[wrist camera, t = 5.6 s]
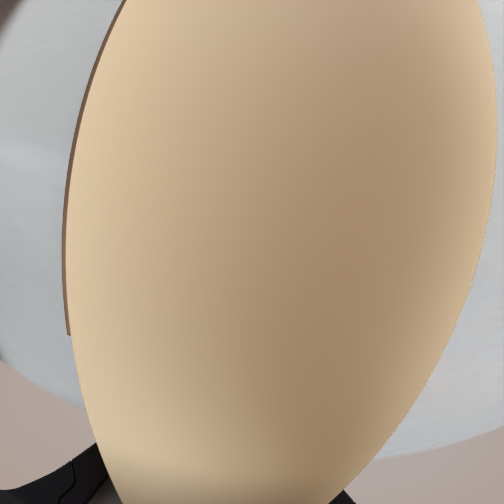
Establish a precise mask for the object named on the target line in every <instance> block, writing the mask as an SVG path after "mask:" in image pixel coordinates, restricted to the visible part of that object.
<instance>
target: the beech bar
mask: <svg viewBox="0 0 504 504" xmlns="http://www.w3.org/2000/svg"><path fill="white" fill-rule="evenodd" d="M496 156H497V102H496V89H495V79H494V71H493V64H492V58H491V52H490V47H489V42H488V38H487V33H486V29H485V25H484V21H483V18H482V14H481V11H480V8H479V4H478V1H477V0H127V1H126V2H125V4H124V6H123V8H122V10H121V12H120V14H119V16H118V18H117V20H116V23H115V25H114V27H113V29H112V31H111V34H110V36H109V38H108V41H107V43H106V45H105V48H104V50H103V53H102V56H101V58H100V61H99V64H98V66H97V69H96V72H95V75H94V78H93V81H92V84H91V88H90V91H89V94H88V98H87V101H86V105H85V109H84V112H83V116H82V120H81V125H80V129H79V134H78V138H77V143H76V149H75V154H74V160H73V166H72V173H71V180H70V189H69V198H68V209H67V225H66V288H67V303H68V314H69V324H70V332H71V339H72V346H73V352H74V358H75V363H76V369H77V374H78V378H79V383H80V387H81V392H82V396H83V400H84V403H85V407H86V411H87V414H88V418H89V421H90V424H91V427H92V431H93V434H94V437H95V440H96V442H97V445H98V448H99V451H100V453H101V456H102V459H103V461H104V464H105V466H106V469H107V471H108V473H109V476H110V478H111V480H112V482H113V485H114V487H115V489H116V491H117V493H118V495H119V497H120V499H121V501H122V503H123V504H328V503H329V502H331V501H332V500H333V499H334V498H335V497H336V496H337V495H338V494H339V493H340V492H341V491H342V490H343V489H344V488H345V487H346V486H347V485H348V484H349V483H350V482H351V481H352V480H353V479H354V478H355V477H356V476H357V475H358V474H359V473H360V472H361V471H362V470H363V469H364V468H365V466H366V465H367V464H368V463H369V462H370V461H371V460H372V458H373V457H374V456H375V455H376V454H377V453H378V451H379V450H380V449H381V448H382V446H383V445H384V444H385V443H386V441H387V440H388V439H389V438H390V436H391V435H392V434H393V432H394V431H395V430H396V428H397V427H398V426H399V424H400V423H401V421H402V420H403V419H404V417H405V416H406V414H407V413H408V411H409V410H410V408H411V407H412V405H413V404H414V402H415V401H416V399H417V397H418V396H419V394H420V393H421V391H422V389H423V388H424V386H425V384H426V383H427V381H428V379H429V377H430V376H431V374H432V372H433V370H434V368H435V367H436V365H437V363H438V361H439V359H440V357H441V355H442V353H443V351H444V349H445V347H446V345H447V343H448V341H449V339H450V337H451V334H452V332H453V330H454V328H455V325H456V323H457V321H458V318H459V316H460V313H461V311H462V308H463V306H464V303H465V300H466V298H467V295H468V292H469V289H470V286H471V283H472V280H473V277H474V274H475V271H476V268H477V264H478V261H479V257H480V254H481V250H482V246H483V242H484V238H485V233H486V229H487V224H488V219H489V214H490V208H491V202H492V195H493V188H494V180H495V169H496Z"/></svg>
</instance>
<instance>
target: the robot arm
mask: <svg viewBox="0 0 504 504" xmlns="http://www.w3.org/2000/svg"><path fill="white" fill-rule="evenodd" d="M0 504H123V503H122V501H121V499H120V497H119V495H118V493H117V491H116V489H115V487H114V485H113V482H112V480H111V478H110V476H109V473H108V471H107V469H106V466H105V464H104V461H103V459H102V456H101V453H100V451H99V448H98V445H97V442H96V443H94V444H93V445H92V446H90V447H89V448H88V449H86V450H85V451H84V452H82V453H81V454H79V455H78V456H77V457H75V458H74V459H72V461H69V462H68V463H67V464H65V465H63V466H62V467H60V468H59V469H57V470H56V471H54V472H52V473H50V474H48V475H46V476H44V477H42V478H40V479H38V480H35V481H33V482H31V483H28V484H26V485H24V486H21V487H19V488H16V489H11V490H0ZM328 504H356V503H355V502H353V500H352V499H351V498H350V496H349V495H348V494H347V493H346V492H345V491H344V490H342V491H341V492H340V493H339V494H338V495H337V496H336V497H335V498H334V499H333V500H332V501H331V502H329V503H328Z"/></svg>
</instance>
